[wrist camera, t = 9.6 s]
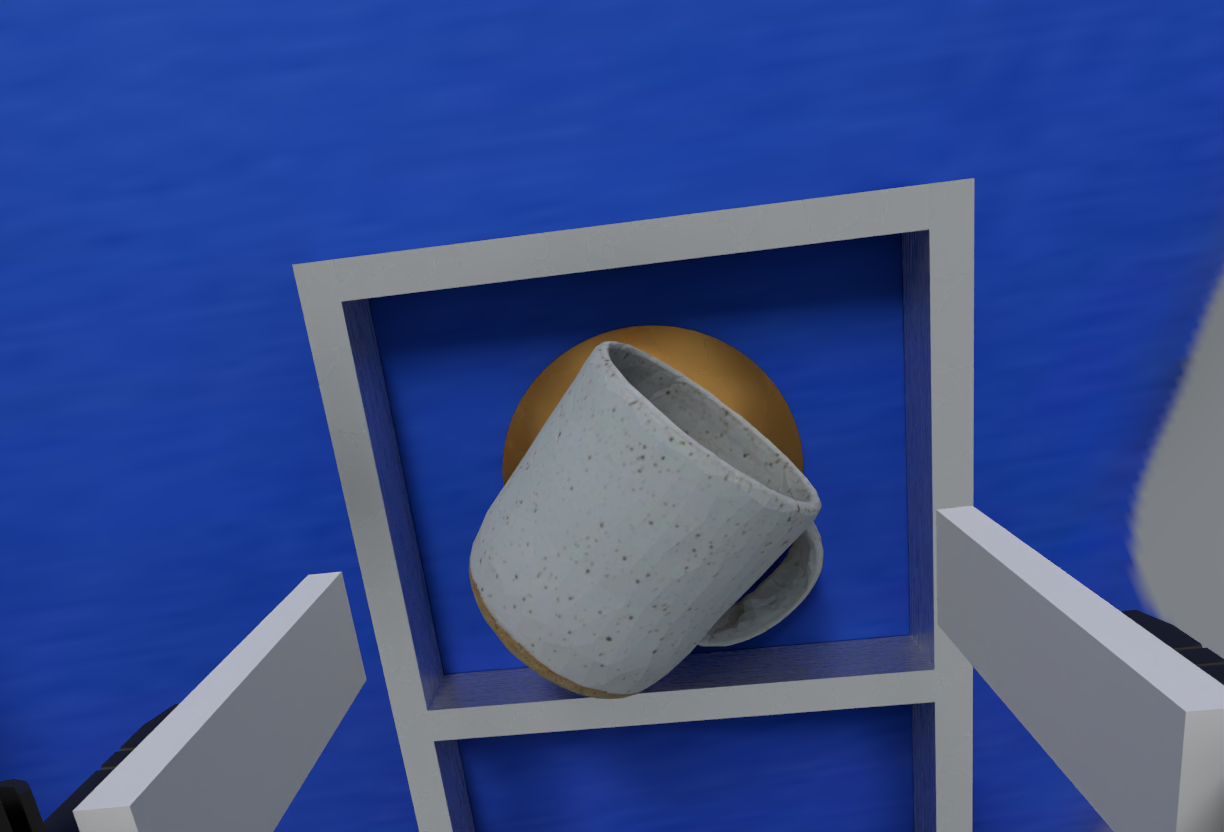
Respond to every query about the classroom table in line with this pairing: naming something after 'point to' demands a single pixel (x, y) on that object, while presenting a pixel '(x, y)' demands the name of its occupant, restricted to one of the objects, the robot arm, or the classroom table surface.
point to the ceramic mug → (641, 531)
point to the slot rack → (933, 397)
